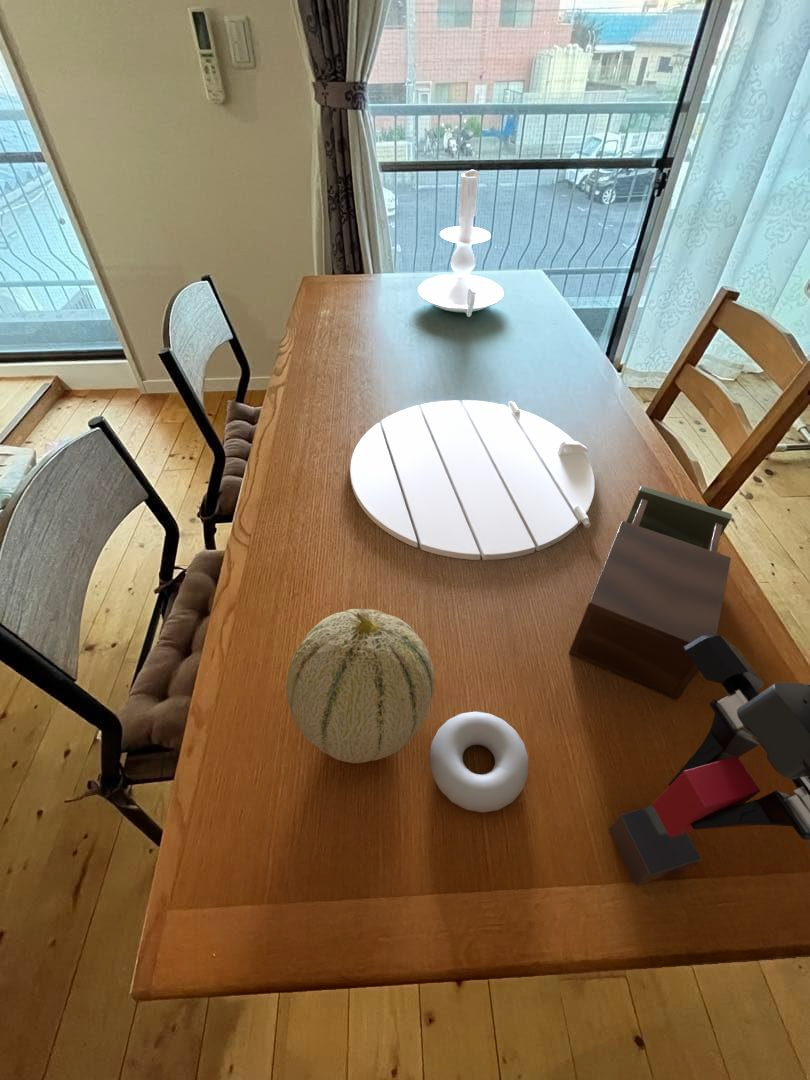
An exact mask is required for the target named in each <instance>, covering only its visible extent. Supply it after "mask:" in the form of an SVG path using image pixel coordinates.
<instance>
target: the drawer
mask: <svg viewBox="0 0 810 1080" xmlns="http://www.w3.org/2000/svg"><path fill="white" fill-rule="evenodd" d="M631 506H632V507H631V509H630V510H629V514H628V516H627V518H626V521H625V522H628V523H631V524H634V525H637V526H640V527H643V528H646V529H648V530H651V531H654V532H657V533H660V534H663V535H666V536H669V537H672V538H675V539H678V540H681V541H684V542H687V543H690V544H693V545H696V546H699V547H701V548H704V549H707V550H710V551H713V552H716V553H718V550H719V545H720V540H721V536H722V535H723V533H724V532H725V530H726V528H727V527H728V525H729V523H730V521H731V519H732V515H733V514H732V513H731V512H727V511H724V510H721V509H717V508H714V507H712V506H708V505H705V504H701V503H699V502H695V501H692V500H690V499H685V498H683V497H679V496H677V495H674V494H670V493H667V492H664V491H660V490H657V489H655V488H651V487H649V486H646V485H642V484H641V485H640V487H639V489H638V492H637V494H636V497H635V499H634V501H633V504H632V505H631Z"/></svg>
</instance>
